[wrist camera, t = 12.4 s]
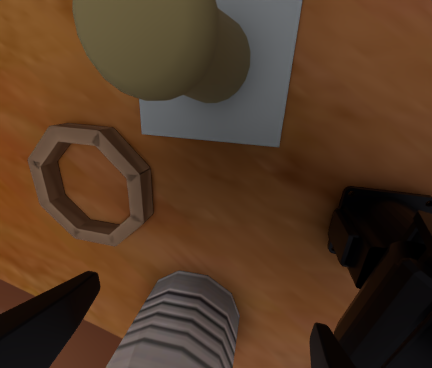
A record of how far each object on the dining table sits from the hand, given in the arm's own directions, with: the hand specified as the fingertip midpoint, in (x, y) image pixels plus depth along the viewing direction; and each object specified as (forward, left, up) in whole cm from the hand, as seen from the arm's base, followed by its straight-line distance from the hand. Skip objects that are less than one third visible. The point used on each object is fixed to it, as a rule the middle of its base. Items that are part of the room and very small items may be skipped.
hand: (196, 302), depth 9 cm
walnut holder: (+15, +2, -13) cm, 20 cm away
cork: (+3, -10, -12) cm, 16 cm away
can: (+4, +17, -13) cm, 22 cm away
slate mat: (+3, -10, -13) cm, 17 cm away
